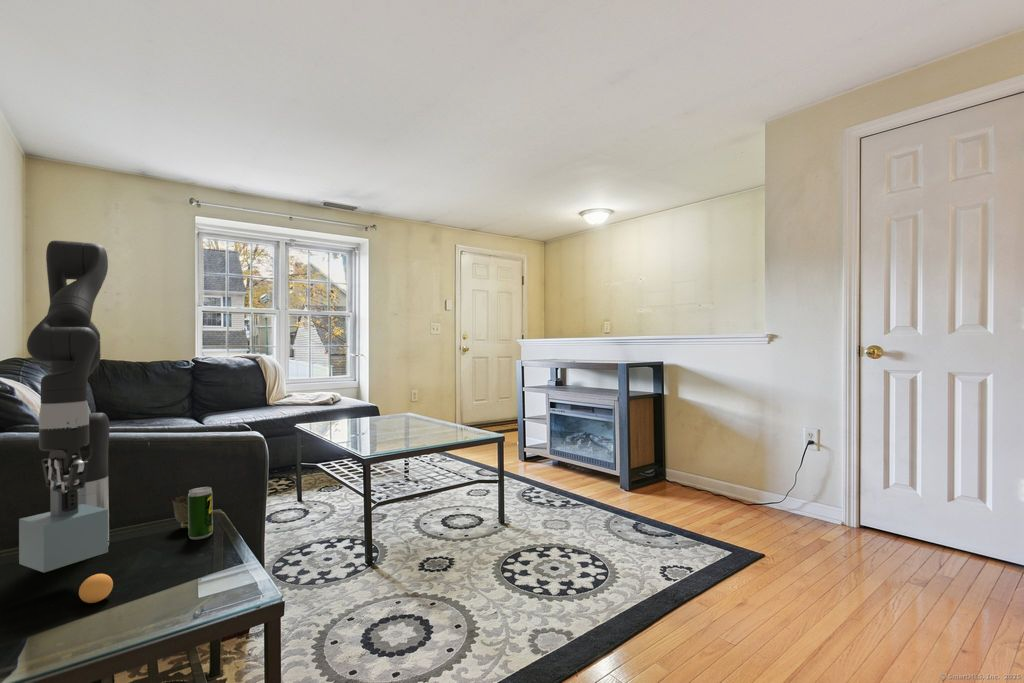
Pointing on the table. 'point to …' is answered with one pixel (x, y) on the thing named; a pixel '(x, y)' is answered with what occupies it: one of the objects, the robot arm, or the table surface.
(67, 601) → the table surface
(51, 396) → the robot arm
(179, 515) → the cup
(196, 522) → the beer can
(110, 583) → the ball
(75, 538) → the blue-grey box with knob
